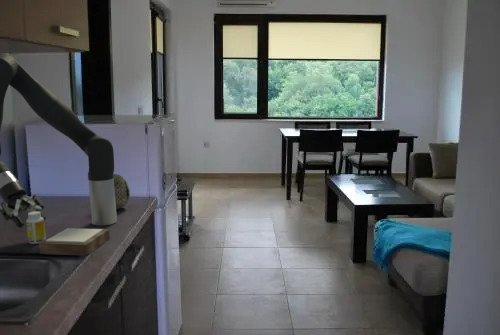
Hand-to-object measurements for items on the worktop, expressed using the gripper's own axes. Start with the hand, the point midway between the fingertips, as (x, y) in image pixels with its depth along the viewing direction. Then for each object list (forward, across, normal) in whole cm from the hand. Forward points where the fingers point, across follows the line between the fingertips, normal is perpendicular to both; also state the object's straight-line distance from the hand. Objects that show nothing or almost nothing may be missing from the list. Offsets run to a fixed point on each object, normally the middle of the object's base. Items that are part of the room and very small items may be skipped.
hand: (33, 223), depth 166 cm
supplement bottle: (+5, 0, +4) cm, 7 cm away
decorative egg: (0, +44, +9) cm, 45 cm away
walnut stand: (+16, +3, -8) cm, 18 cm away
